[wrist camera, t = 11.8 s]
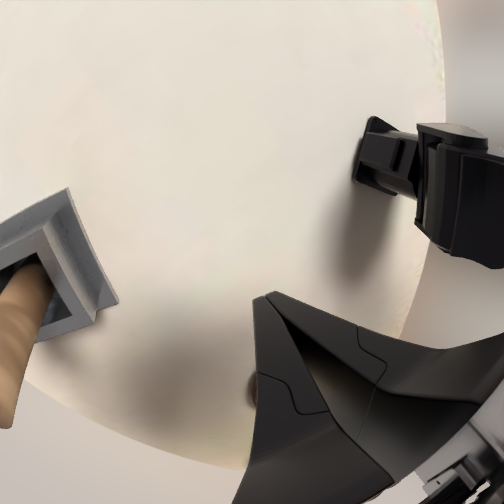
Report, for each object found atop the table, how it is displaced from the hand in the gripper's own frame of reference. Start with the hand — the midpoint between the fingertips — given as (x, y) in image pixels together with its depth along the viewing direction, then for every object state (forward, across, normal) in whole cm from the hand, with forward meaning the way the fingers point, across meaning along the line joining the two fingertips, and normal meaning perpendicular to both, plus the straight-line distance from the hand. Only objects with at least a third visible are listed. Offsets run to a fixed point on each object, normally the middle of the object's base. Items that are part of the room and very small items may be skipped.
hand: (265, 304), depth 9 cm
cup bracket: (+13, +14, +1) cm, 19 cm away
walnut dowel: (+12, +14, +1) cm, 19 cm away
